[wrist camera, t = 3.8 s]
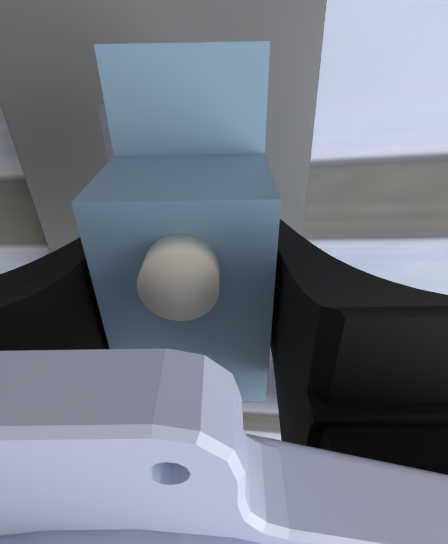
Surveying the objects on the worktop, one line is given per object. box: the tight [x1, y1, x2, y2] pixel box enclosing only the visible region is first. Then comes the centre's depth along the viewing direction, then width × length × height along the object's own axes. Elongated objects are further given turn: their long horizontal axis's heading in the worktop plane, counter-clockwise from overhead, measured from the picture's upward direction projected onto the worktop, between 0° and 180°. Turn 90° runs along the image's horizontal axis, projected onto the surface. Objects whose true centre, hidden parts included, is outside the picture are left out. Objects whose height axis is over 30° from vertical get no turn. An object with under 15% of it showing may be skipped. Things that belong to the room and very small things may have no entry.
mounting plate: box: [0, 0, 327, 253], centre depth 19 cm, size 20×14×2 cm
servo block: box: [71, 41, 281, 402], centre depth 11 cm, size 11×4×7 cm, turn 1°
